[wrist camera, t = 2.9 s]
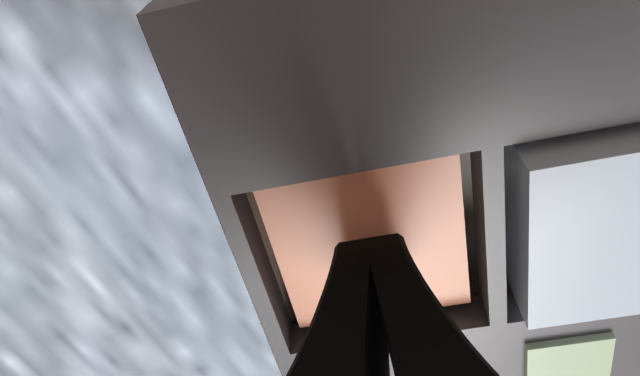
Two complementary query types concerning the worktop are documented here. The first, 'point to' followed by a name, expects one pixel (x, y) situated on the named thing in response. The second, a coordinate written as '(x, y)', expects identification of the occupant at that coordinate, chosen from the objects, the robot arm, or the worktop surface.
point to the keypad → (399, 129)
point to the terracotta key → (370, 226)
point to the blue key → (574, 226)
